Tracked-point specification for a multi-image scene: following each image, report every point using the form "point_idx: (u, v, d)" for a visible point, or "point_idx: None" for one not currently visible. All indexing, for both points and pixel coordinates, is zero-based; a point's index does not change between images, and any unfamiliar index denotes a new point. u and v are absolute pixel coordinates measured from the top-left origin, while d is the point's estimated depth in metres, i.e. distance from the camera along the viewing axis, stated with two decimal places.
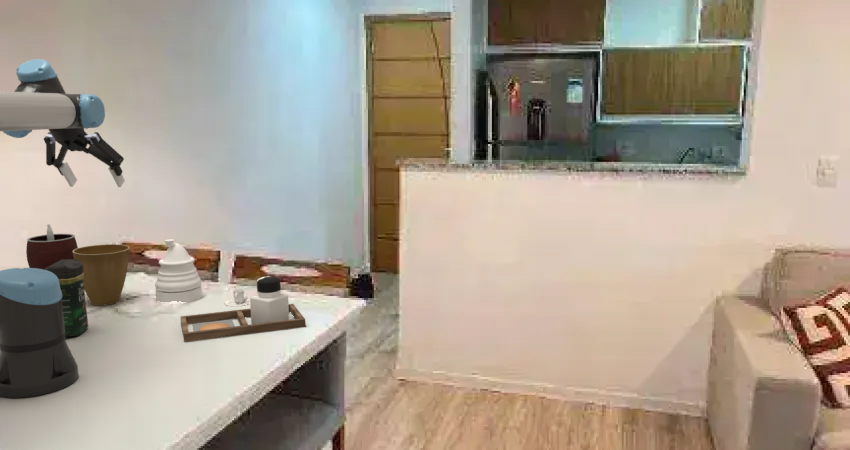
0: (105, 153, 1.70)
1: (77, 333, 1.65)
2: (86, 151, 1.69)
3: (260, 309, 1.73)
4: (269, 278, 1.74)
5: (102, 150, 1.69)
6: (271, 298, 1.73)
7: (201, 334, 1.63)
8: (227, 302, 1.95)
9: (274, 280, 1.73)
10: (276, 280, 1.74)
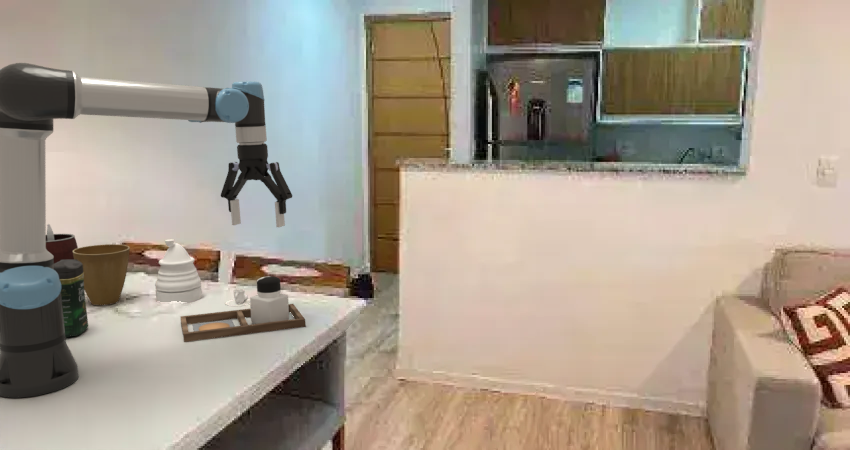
0: (277, 183, 1.68)
1: (77, 333, 1.65)
2: (261, 178, 1.69)
3: (260, 309, 1.73)
4: (269, 278, 1.74)
5: (276, 178, 1.68)
6: (271, 298, 1.73)
7: (201, 334, 1.63)
8: (227, 302, 1.95)
9: (274, 280, 1.73)
10: (276, 280, 1.74)
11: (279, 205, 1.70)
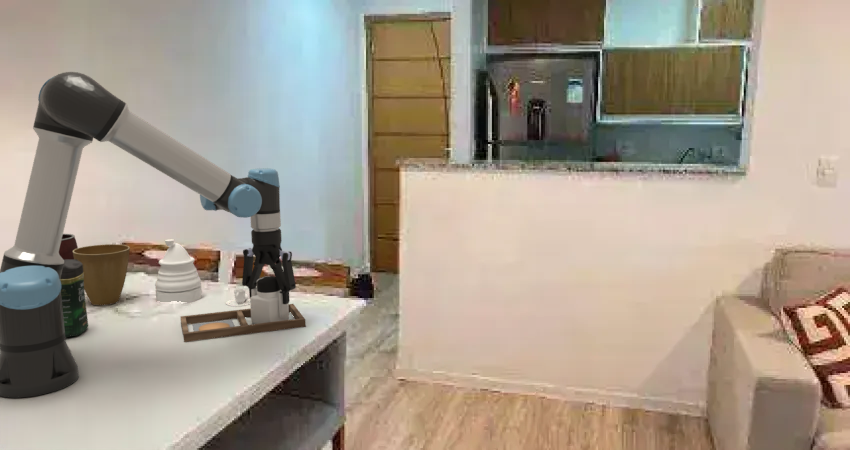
0: (285, 273, 1.71)
1: (77, 333, 1.65)
2: (271, 265, 1.72)
3: (260, 309, 1.73)
4: (269, 278, 1.74)
5: (285, 269, 1.71)
6: (271, 298, 1.73)
7: (201, 334, 1.63)
8: (228, 302, 1.95)
9: (274, 280, 1.73)
10: (276, 280, 1.74)
11: (282, 295, 1.73)
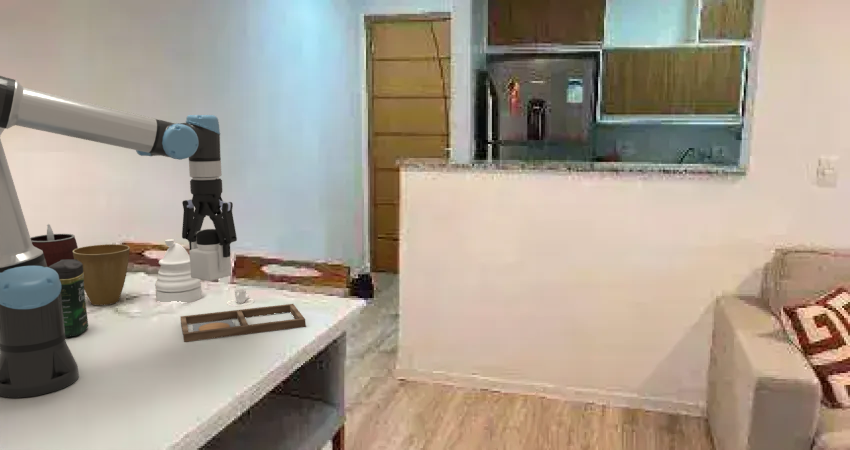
0: (224, 224, 1.63)
1: (77, 333, 1.65)
2: (211, 216, 1.64)
3: (199, 262, 1.65)
4: (209, 230, 1.66)
5: (225, 220, 1.63)
6: (211, 250, 1.65)
7: (201, 334, 1.63)
8: (229, 302, 1.95)
9: (215, 232, 1.66)
10: (216, 232, 1.66)
11: (223, 248, 1.65)
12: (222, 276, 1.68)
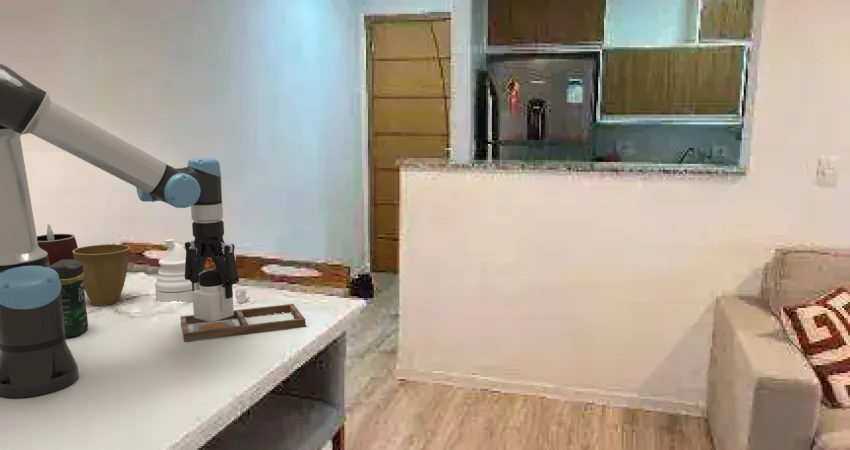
0: (227, 266, 1.65)
1: (77, 333, 1.65)
2: (213, 258, 1.66)
3: (202, 304, 1.67)
4: (212, 272, 1.68)
5: (227, 262, 1.65)
6: (213, 292, 1.67)
7: (201, 334, 1.63)
8: None
9: (217, 274, 1.67)
10: None
11: (225, 290, 1.67)
12: (225, 316, 1.70)
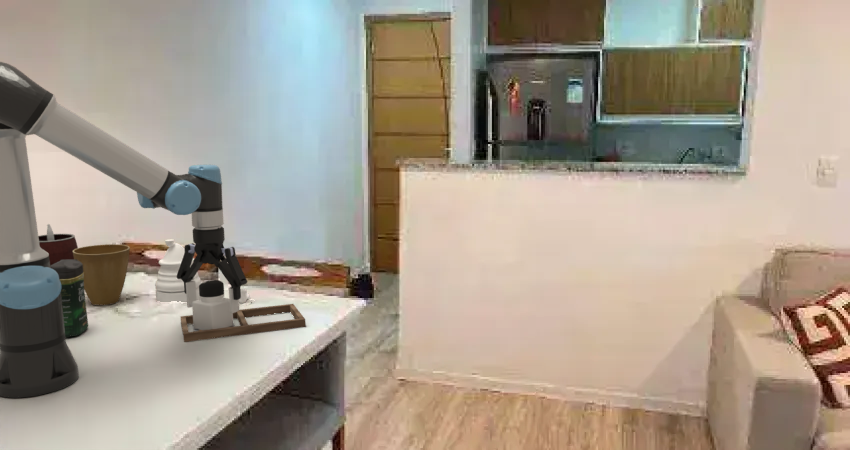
0: (231, 269, 1.65)
1: (77, 333, 1.65)
2: (216, 263, 1.66)
3: (202, 314, 1.68)
4: (212, 282, 1.68)
5: (230, 264, 1.65)
6: (213, 302, 1.67)
7: (201, 334, 1.63)
8: None
9: (217, 284, 1.68)
10: (219, 284, 1.68)
11: (233, 291, 1.66)
12: (225, 327, 1.70)
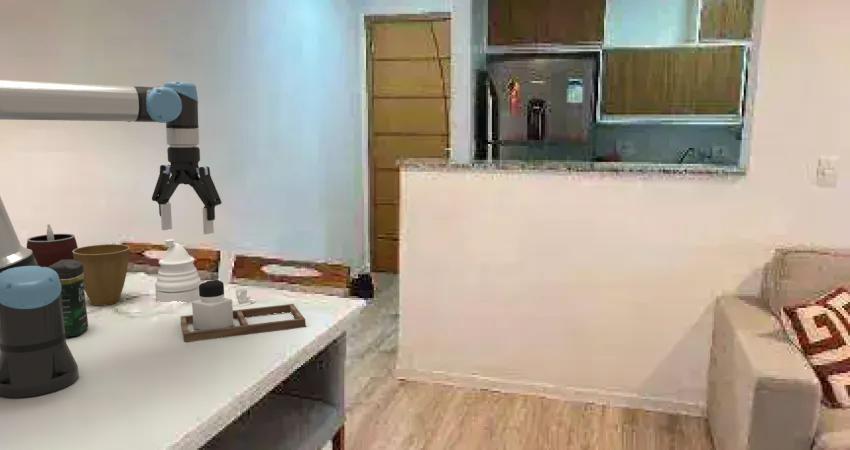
0: (205, 188, 1.62)
1: (77, 333, 1.65)
2: (190, 182, 1.63)
3: (202, 314, 1.68)
4: (212, 282, 1.68)
5: (204, 183, 1.62)
6: (213, 302, 1.67)
7: (201, 334, 1.63)
8: None
9: (217, 284, 1.68)
10: (219, 284, 1.68)
11: (207, 211, 1.63)
12: (225, 327, 1.70)
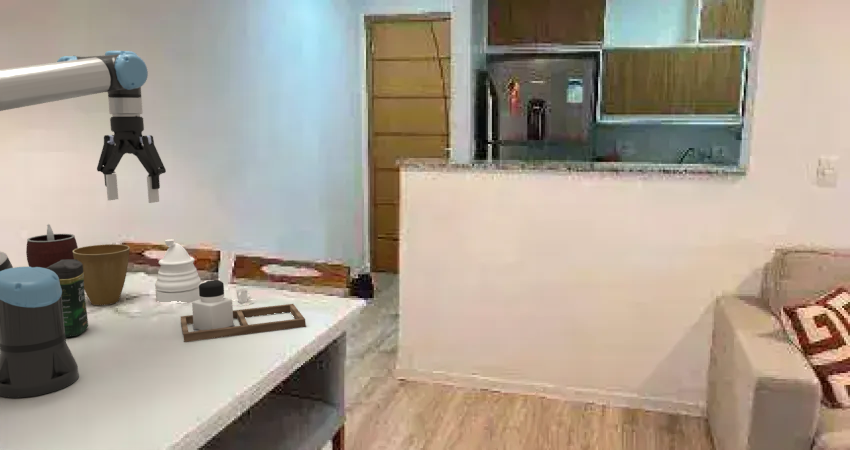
0: (149, 157, 1.63)
1: (77, 333, 1.65)
2: (134, 151, 1.64)
3: (202, 314, 1.68)
4: (212, 282, 1.68)
5: (148, 152, 1.63)
6: (213, 302, 1.67)
7: (201, 334, 1.63)
8: None
9: (217, 284, 1.68)
10: (219, 284, 1.68)
11: (151, 180, 1.64)
12: (225, 327, 1.70)
